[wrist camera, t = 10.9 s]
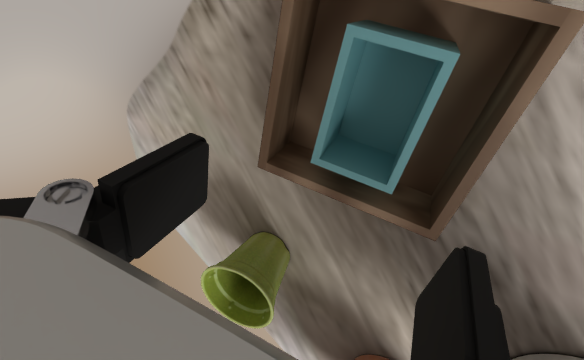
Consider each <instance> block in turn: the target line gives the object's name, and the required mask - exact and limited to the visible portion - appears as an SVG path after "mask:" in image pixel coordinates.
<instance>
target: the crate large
mask: <svg viewBox="0 0 584 360" xmlns="http://www.w3.org/2000/svg"><path fill="white" fill-rule="evenodd" d="M362 20H371V21H375V22H379V23H383V24H386V25H390V26H394V27H398V28H402V29H406V30H409V31H413V32H417V33H421V34H425V35H429V36H433V37H436V38H440V39H444V40H448V41H452V42H456V43H457V46H458V49H459V51H460V56H459V58H458V60H457V62H456V64H455V66H454V68H453V70H452V72H451V74H450V76H449V79H448V81H447V83H446V85H445V87H444V89H443V91H442V93H441V95H440V97H439V99H438V101H437V103H436V105H435V107H434V109H433V111H432V113H431V115H430V117H429V119H428V122H427V124H426V126H425V128H424V130H423V132H422V134H421V136H420V138H419V140H418V142H417V144H416V146H415V148H414V150H413V152H412V154H411V156H410V158H409V160H408V162H407V165H406V167H405V169H404V171H403V173H402V175H401V177H400V179H399V181H398V183H397V185H396V187H395V189H394V191H393V193H392V194H389V193H386V192H384V191H381V190H379V189H376V188H374V187H371V186H369V185H366V184H364V183H361V182H358V181H356V180H353V179H351V178H348V177H346V176H343V175H341V174H338V173H336V172H333V171H331V170H328V169H325V168H323V167H320V166H318V165H315V164H313V163H310V162H311V159H312V155H313V151H314V147H315V144H316V140H317V136H318V132H319V129H320V125H321V121H322V117H323V114H324V110H325V106H326V102H327V99H328V95H329V91H330V87H331V83H332V80H333V76H334V72H335V68H336V65H337V61H338V57H339V53H340V50H341V46H342V42H343V38H344V35H345V31H346V27H347V24H348V23H353V22H358V21H362ZM583 24H584V11H580V10H575V9H570V8H566V7H561V6H557V5H552V4H548V3H543V2H538V1H534V0H282V7H281V14H280V20H279V27H278V34H277V40H276V47H275V54H274V61H273V67H272V74H271V81H270V87H269V94H268V101H267V107H266V114H265V121H264V127H263V134H262V141H261V148H260V154H259V161H258V167H259V168H261V169H264V170H266V171H268V172H271V173H273V174H276V175H278V176H280V177H283V178H285V179H288V180H290V181H292V182H295V183H297V184H300V185H302V186H304V187H307V188H309V189H311V190H314V191H316V192H319V193H321V194H323V195H326V196H328V197H331V198H333V199H335V200H338V201H340V202H343V203H345V204H347V205H350V206H352V207H355V208H357V209H359V210H362V211H364V212H367V213H369V214H371V215H374V216H376V217H379V218H381V219H383V220H386V221H388V222H391V223H393V224H395V225H398V226H400V227H403V228H405V229H407V230H410V231H412V232H415V233H417V234H419V235H422V236H424V237H426V238H429V239H431V240H434V241H436V240H437V238H438V237H439V235H440V234H441V233H442V231H443V230H444V228H445V227H446V225H447V224H448V222H449V221H450V219H451V218H452V216H453V215H454V213H455V212H456V210H457V209H458V208H459V206H460V205H461V203H462V202H463V200H464V199H465V197H466V196H467V194H468V193H469V191H470V190H471V188H472V187H473V185H474V184H475V183H476V181H477V180H478V178H479V177H480V175H481V174H482V172H483V171H484V169H485V168H486V166H487V165H488V163H489V162H490V160H491V159H492V158H493V156H494V155H495V153H496V152H497V150H498V149H499V147H500V146H501V144H502V143H503V141H504V140H505V138H506V137H507V135H508V134H509V133H510V131H511V130H512V128H513V127H514V125H515V124H516V122H517V121H518V119H519V118H520V116H521V115H522V113H523V112H524V110H525V109H526V108H527V106H528V105H529V103H530V102H531V100H532V99H533V97H534V96H535V94H536V93H537V91H538V90H539V88H540V87H541V85H542V84H543V83H544V81H545V80H546V78H547V77H548V75H549V74H550V72H551V71H552V69H553V68H554V66H555V65H556V63H557V62H558V60H559V59H560V58H561V56H562V55H563V53H564V52H565V50H566V49H567V47H568V46H569V44H570V43H571V41H572V40H573V38H574V37H575V35H576V34H577V33H578V31H579V30H580V28H581V27H582V25H583Z"/></svg>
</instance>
